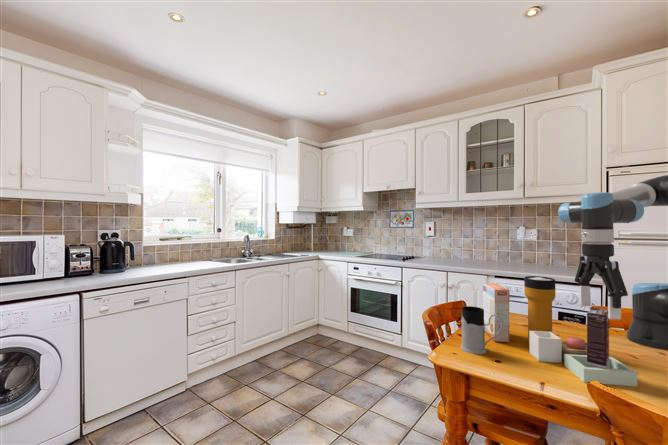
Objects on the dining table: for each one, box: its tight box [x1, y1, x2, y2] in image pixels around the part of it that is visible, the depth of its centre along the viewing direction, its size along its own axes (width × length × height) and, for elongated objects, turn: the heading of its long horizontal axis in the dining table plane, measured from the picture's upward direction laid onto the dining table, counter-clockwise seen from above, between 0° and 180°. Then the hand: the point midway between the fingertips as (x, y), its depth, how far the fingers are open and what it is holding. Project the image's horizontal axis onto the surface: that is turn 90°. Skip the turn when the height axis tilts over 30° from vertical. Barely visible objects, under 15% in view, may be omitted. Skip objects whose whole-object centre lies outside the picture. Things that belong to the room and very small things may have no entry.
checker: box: [561, 340, 587, 364], centre depth 106 cm, size 12×10×4 cm
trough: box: [563, 354, 638, 387], centre depth 95 cm, size 14×10×4 cm
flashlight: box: [523, 275, 556, 342], centre depth 119 cm, size 10×26×10 cm
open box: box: [528, 331, 563, 364], centre depth 107 cm, size 7×7×8 cm
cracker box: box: [482, 282, 510, 343], centre depth 128 cm, size 14×6×21 cm, turn 171°
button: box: [566, 336, 586, 350], centre depth 106 cm, size 5×5×3 cm
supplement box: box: [586, 307, 610, 369], centre depth 95 cm, size 9×5×16 cm, turn 135°
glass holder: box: [460, 305, 503, 355], centre depth 114 cm, size 9×14×15 cm, turn 67°
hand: (598, 311), depth 95 cm, fingers open, 13 cm apart
